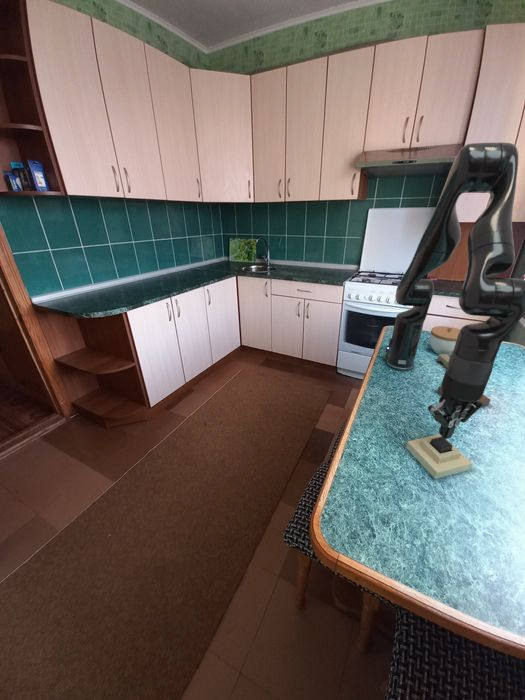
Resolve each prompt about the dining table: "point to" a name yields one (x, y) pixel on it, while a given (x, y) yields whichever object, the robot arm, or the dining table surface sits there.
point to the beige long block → (444, 359)
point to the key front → (441, 445)
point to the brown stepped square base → (483, 400)
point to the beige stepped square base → (438, 458)
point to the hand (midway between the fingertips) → (444, 435)
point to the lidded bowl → (443, 339)
